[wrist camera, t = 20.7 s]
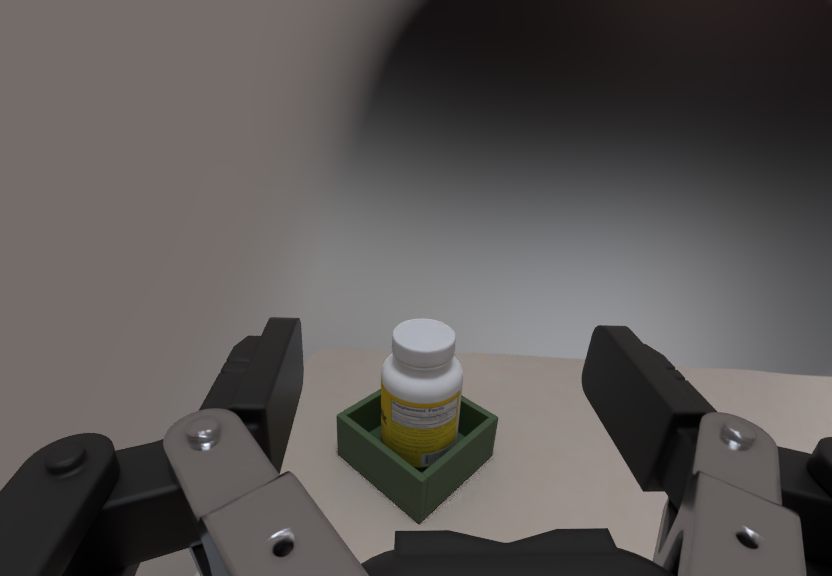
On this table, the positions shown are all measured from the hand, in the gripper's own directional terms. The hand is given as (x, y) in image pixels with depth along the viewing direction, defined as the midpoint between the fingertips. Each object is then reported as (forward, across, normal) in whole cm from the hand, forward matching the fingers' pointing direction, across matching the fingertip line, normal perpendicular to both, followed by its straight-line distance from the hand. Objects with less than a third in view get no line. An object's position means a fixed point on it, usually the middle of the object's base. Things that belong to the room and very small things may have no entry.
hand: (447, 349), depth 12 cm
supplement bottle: (+14, -1, +18) cm, 23 cm away
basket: (+14, -1, +18) cm, 23 cm away
